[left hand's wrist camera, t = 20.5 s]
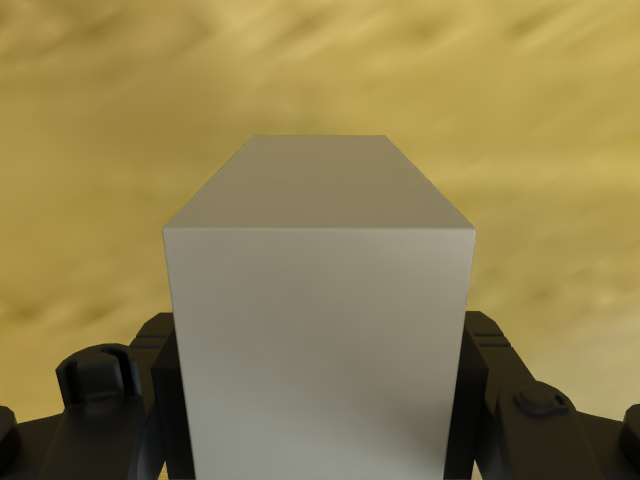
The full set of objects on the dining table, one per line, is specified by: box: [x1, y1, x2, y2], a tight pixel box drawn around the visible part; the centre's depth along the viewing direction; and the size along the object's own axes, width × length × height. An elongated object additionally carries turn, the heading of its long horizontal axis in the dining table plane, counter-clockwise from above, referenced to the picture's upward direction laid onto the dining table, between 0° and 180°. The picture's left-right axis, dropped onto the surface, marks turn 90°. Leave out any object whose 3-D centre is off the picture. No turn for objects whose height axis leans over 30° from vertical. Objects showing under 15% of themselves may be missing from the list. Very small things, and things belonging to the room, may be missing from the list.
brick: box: [162, 135, 476, 480], centre depth 13 cm, size 5×8×10 cm, turn 0°
